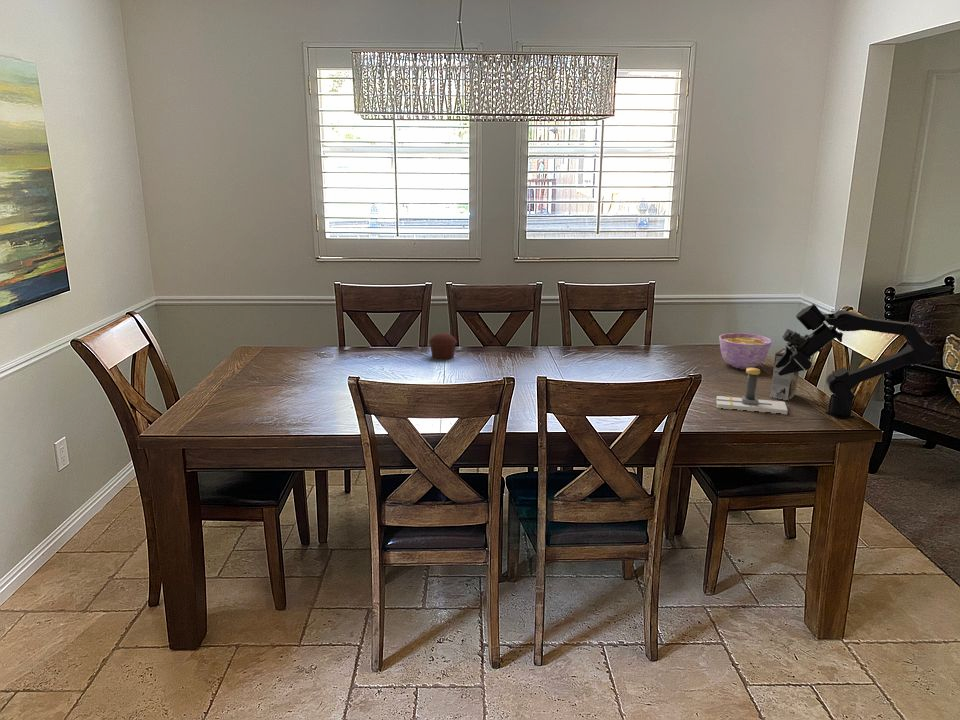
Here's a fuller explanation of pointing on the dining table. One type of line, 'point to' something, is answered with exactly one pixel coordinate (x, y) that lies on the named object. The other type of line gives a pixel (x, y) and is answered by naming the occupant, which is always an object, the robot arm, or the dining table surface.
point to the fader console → (751, 405)
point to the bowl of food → (744, 349)
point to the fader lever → (751, 386)
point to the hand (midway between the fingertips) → (777, 370)
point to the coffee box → (783, 381)
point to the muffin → (442, 346)
